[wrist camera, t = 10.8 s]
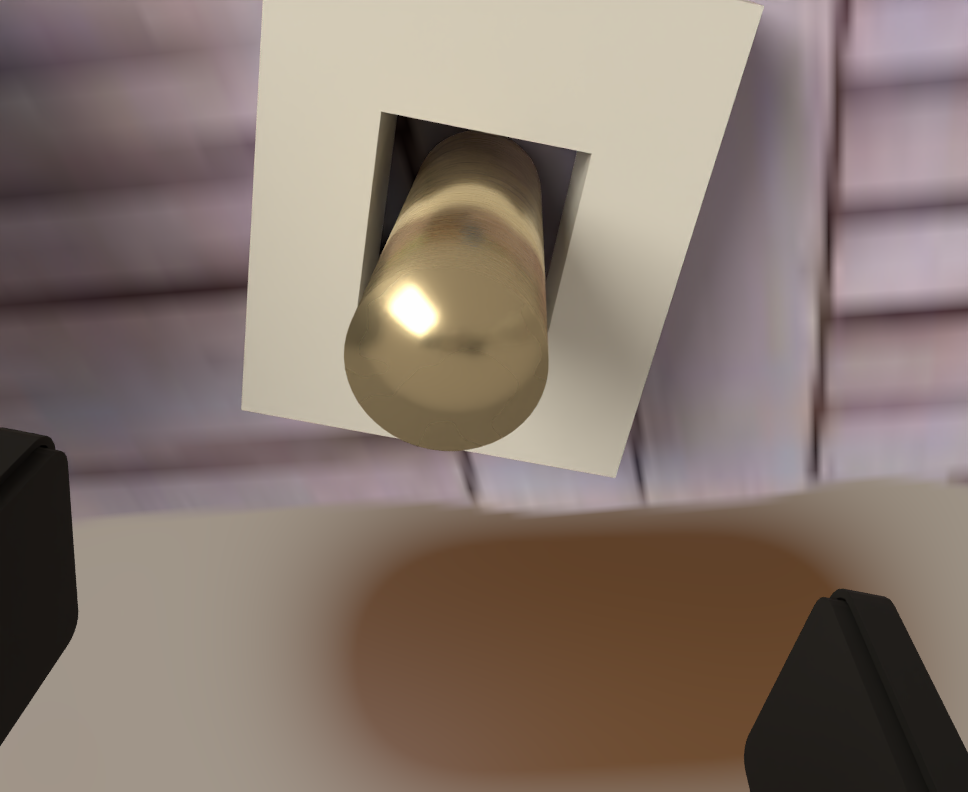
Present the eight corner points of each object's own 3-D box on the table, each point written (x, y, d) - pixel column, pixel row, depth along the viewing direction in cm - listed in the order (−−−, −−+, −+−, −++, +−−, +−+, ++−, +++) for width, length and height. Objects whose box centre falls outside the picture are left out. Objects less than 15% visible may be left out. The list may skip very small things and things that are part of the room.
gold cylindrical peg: (553, 144, 26) (570, 289, 16) (526, 265, 28) (525, 466, 18) (425, 118, 26) (355, 248, 16) (407, 242, 28) (334, 431, 18)
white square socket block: (729, -6, 24) (764, 6, 21) (605, 415, 31) (615, 478, 27) (307, -95, 23) (268, -98, 20) (274, 353, 30) (241, 410, 27)
